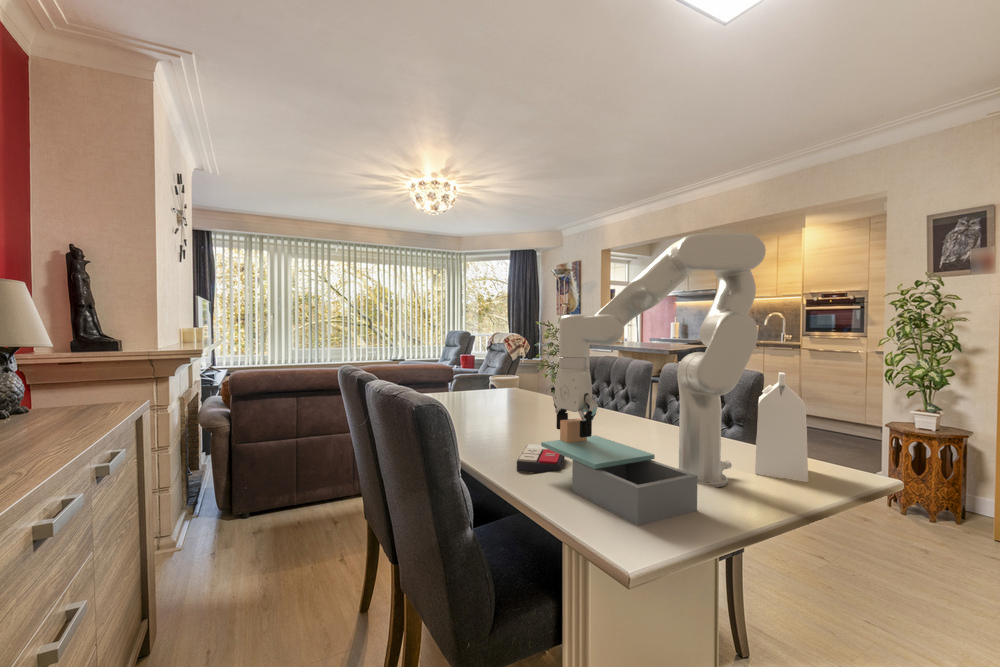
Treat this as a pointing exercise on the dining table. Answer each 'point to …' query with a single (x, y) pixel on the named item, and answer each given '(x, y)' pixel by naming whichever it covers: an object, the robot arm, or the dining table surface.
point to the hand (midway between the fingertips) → (573, 432)
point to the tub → (637, 490)
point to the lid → (593, 448)
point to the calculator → (539, 460)
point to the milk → (781, 433)
